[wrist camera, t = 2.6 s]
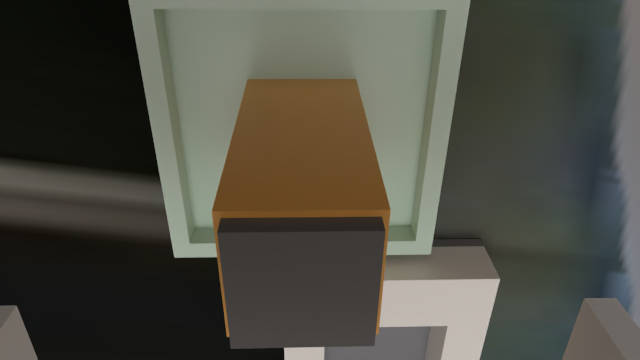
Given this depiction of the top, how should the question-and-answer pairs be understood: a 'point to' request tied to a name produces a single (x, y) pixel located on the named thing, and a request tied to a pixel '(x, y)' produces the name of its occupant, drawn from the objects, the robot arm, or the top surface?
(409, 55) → the tray
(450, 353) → the pdu strip
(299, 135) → the plug
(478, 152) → the top surface
